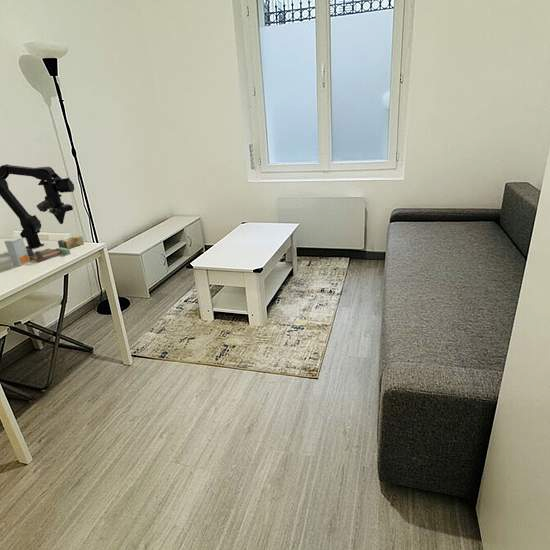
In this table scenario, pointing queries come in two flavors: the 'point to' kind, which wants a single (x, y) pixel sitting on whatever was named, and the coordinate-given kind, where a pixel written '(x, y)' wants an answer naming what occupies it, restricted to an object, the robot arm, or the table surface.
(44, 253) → the stool seat
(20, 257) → the skincare box
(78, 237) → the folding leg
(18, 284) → the table surface
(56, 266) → the table surface
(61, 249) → the socket cleat
